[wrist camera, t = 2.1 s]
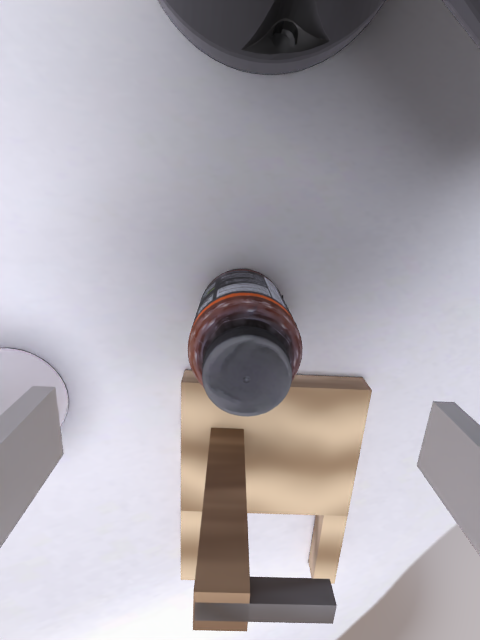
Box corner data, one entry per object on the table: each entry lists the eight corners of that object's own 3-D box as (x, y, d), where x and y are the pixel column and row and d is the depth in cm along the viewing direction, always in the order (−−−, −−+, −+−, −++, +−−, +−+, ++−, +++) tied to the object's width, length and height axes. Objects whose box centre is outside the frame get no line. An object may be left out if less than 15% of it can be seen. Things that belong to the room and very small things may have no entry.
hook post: (210, 427, 27) (193, 591, 16) (295, 430, 27) (338, 595, 16) (210, 454, 28) (192, 630, 16) (292, 457, 28) (330, 632, 17)
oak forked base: (184, 369, 28) (181, 382, 26) (362, 377, 28) (371, 390, 26) (183, 558, 34) (180, 579, 32) (328, 562, 34) (334, 583, 33)
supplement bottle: (270, 351, 27) (293, 449, 17) (194, 335, 27) (167, 425, 16) (291, 276, 26) (332, 332, 15) (209, 258, 25) (191, 301, 14)
